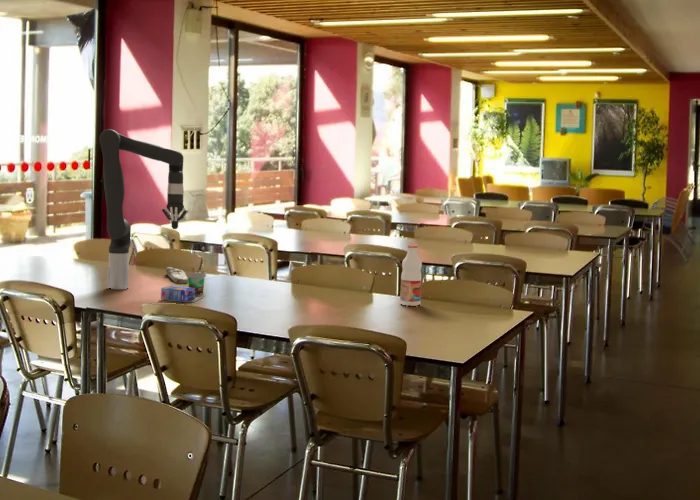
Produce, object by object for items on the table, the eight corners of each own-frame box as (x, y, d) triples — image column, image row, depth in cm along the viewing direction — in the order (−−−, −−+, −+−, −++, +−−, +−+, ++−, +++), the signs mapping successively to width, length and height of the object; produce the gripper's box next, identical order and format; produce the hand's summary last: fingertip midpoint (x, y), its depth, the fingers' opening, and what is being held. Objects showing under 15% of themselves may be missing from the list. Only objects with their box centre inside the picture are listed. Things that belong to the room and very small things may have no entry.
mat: (165, 300, 404) (165, 300, 404) (176, 296, 417) (176, 295, 417) (193, 302, 402) (193, 301, 402) (203, 297, 414) (203, 297, 414)
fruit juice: (402, 302, 423) (405, 243, 420) (422, 304, 420) (425, 244, 417) (397, 305, 414) (400, 245, 411) (417, 307, 411) (420, 246, 408)
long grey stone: (171, 287, 450) (191, 287, 454) (172, 276, 450) (192, 277, 453) (162, 272, 483) (181, 273, 486) (163, 263, 482) (182, 264, 486)
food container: (200, 295, 421) (200, 274, 420) (187, 294, 422) (188, 273, 421) (209, 291, 433) (209, 270, 432) (197, 290, 434) (197, 269, 433)
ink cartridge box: (172, 284, 413) (200, 288, 409) (171, 296, 414) (199, 300, 409) (160, 287, 404) (189, 291, 399) (160, 299, 404) (189, 303, 400)
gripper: (159, 192, 429) (158, 228, 431) (185, 193, 427) (185, 230, 429) (165, 191, 436) (164, 227, 438) (191, 193, 434) (190, 229, 436)
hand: (174, 228), depth 434 cm, fingers closed
